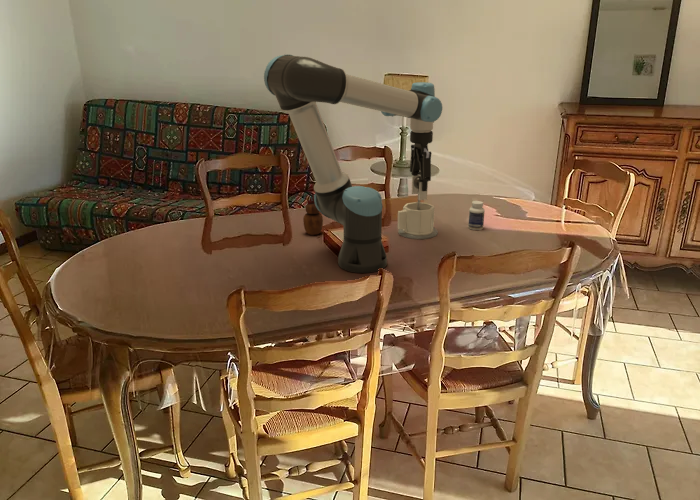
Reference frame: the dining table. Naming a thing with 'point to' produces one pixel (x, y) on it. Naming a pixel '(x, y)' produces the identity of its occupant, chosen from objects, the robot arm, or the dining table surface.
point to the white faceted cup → (417, 221)
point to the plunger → (416, 185)
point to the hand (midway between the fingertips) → (419, 196)
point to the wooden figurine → (312, 218)
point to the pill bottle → (476, 216)
